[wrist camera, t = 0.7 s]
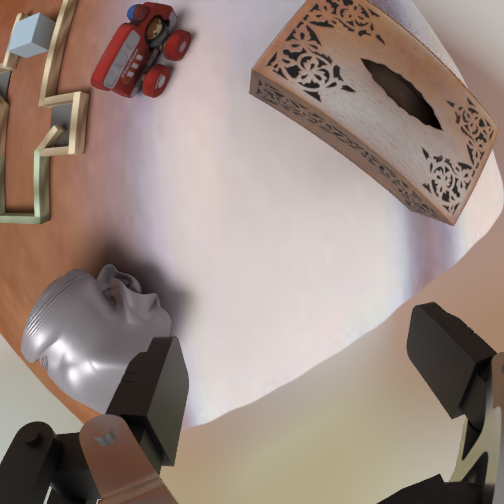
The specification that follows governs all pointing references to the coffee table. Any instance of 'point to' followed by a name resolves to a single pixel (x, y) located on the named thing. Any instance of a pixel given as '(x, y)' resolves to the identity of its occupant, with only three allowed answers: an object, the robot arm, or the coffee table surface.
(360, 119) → the tissue box cover
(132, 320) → the grey rounded piece
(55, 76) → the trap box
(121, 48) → the toy fire truck
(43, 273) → the coffee table surface
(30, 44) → the blue block
